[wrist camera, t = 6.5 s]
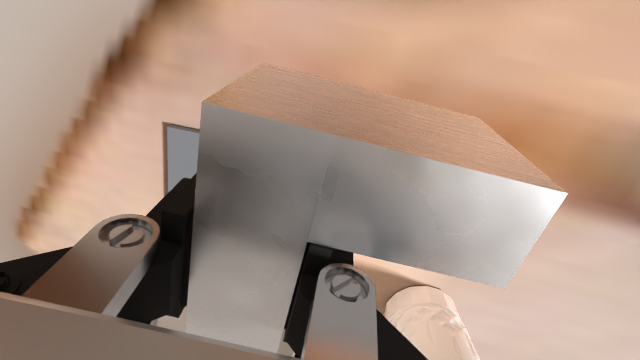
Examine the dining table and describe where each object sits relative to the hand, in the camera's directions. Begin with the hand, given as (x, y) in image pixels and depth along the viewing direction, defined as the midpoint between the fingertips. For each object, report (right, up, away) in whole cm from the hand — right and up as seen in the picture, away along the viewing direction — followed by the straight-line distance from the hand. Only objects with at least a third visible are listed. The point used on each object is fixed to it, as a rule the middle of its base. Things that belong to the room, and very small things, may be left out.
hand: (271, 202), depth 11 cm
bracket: (+2, +1, +1) cm, 3 cm away
